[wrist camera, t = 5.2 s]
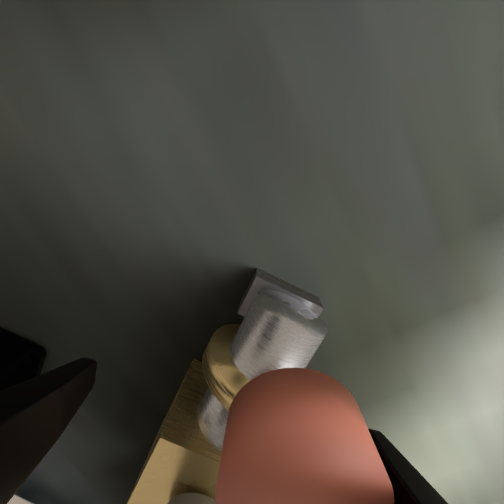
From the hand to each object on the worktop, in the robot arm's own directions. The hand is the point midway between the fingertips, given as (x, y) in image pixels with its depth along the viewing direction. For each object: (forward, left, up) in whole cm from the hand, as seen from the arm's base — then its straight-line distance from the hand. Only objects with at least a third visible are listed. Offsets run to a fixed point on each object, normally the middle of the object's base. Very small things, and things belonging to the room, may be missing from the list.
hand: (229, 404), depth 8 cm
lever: (+2, -3, -2) cm, 4 cm away
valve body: (+2, -8, -7) cm, 11 cm away
